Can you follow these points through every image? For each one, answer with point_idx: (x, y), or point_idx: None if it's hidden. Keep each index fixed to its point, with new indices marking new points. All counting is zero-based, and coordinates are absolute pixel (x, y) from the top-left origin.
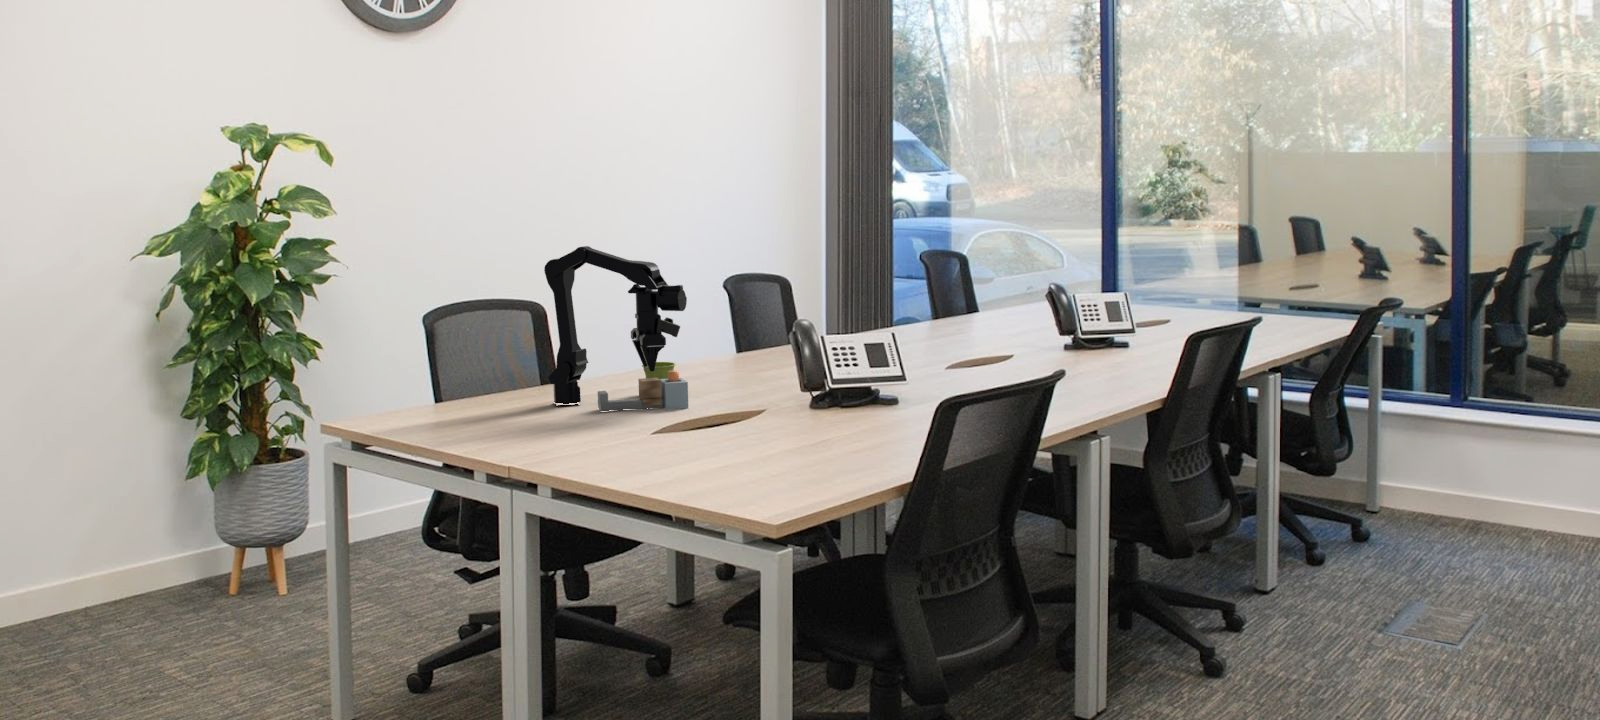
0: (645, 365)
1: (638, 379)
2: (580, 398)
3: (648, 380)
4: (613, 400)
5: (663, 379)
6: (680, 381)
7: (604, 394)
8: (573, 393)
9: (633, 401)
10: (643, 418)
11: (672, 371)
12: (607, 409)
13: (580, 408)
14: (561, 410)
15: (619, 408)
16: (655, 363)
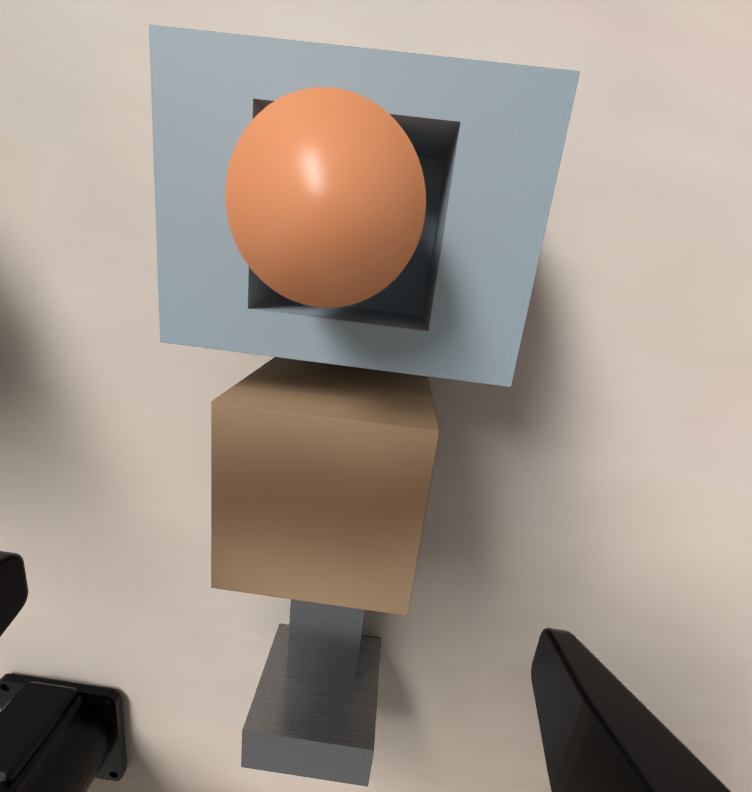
0: (9, 591)
1: (217, 582)
2: (60, 704)
3: (381, 544)
4: (299, 640)
5: (200, 308)
6: (461, 154)
7: (371, 762)
8: (59, 772)
9: None
10: (672, 548)
11: (328, 222)
12: (378, 657)
13: (198, 702)
14: (220, 772)
15: None
16: (701, 765)
